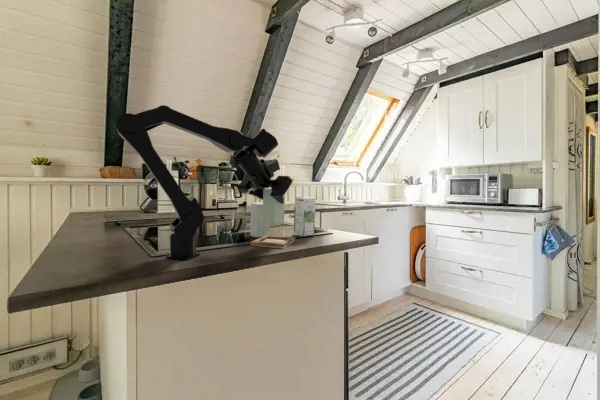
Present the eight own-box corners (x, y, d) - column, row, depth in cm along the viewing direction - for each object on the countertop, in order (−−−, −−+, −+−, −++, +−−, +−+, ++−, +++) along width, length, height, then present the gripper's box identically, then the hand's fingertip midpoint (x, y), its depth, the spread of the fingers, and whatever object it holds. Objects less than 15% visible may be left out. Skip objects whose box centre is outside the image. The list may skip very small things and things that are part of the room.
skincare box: (256, 237, 107) (257, 204, 106) (249, 236, 110) (249, 203, 109) (270, 235, 111) (270, 203, 110) (263, 234, 114) (263, 202, 113)
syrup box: (304, 233, 117) (305, 196, 116) (314, 235, 112) (315, 197, 111) (293, 234, 113) (293, 196, 112) (303, 237, 109) (304, 197, 108)
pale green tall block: (275, 224, 94) (275, 189, 94) (262, 222, 97) (263, 189, 96) (284, 222, 99) (284, 189, 98) (272, 221, 101) (272, 188, 101)
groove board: (283, 248, 91) (283, 244, 91) (250, 245, 94) (250, 241, 94) (295, 240, 102) (295, 237, 102) (265, 238, 106) (265, 235, 106)
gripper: (289, 148, 88) (309, 185, 97) (245, 151, 99) (267, 184, 108) (270, 174, 82) (294, 211, 91) (226, 174, 93) (251, 207, 102)
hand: (276, 202), depth 99 cm, fingers closed on pale green tall block, 5 cm apart
